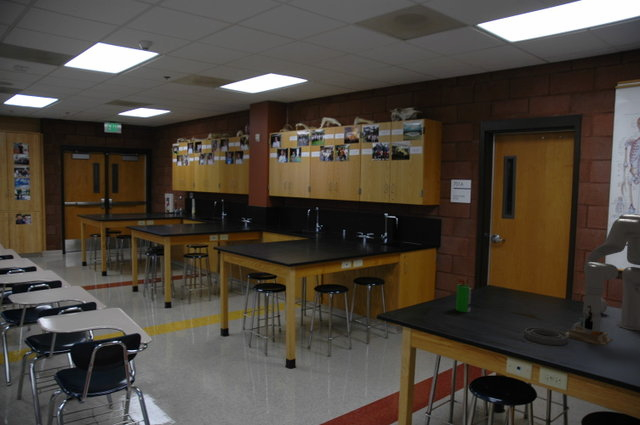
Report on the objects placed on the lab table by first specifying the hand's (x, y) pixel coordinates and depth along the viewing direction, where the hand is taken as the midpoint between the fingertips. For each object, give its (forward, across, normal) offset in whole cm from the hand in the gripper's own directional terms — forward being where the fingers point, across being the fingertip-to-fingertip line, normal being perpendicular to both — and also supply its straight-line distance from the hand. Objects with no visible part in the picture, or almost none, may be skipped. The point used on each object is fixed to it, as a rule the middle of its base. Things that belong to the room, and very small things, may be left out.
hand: (591, 327), depth 222 cm
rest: (+6, 0, -2) cm, 6 cm away
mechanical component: (+6, +17, -14) cm, 23 cm away
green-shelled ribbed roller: (+6, +4, -65) cm, 65 cm away
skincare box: (+5, 0, 0) cm, 5 cm away
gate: (+5, -9, -9) cm, 14 cm away
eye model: (+6, -55, -14) cm, 57 cm away
